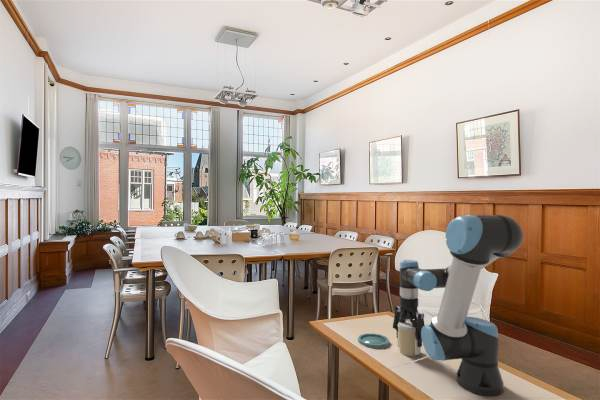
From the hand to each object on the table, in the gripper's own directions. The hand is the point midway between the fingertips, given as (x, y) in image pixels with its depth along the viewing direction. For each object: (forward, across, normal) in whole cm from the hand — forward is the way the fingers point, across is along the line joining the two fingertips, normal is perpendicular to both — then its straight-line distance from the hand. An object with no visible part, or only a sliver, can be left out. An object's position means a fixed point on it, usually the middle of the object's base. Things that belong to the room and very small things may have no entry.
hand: (408, 350), depth 154 cm
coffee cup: (+1, 0, 0) cm, 1 cm away
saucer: (+1, +16, +5) cm, 17 cm away
